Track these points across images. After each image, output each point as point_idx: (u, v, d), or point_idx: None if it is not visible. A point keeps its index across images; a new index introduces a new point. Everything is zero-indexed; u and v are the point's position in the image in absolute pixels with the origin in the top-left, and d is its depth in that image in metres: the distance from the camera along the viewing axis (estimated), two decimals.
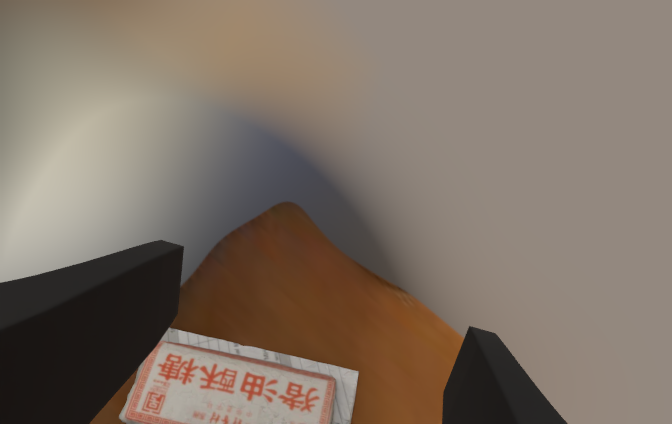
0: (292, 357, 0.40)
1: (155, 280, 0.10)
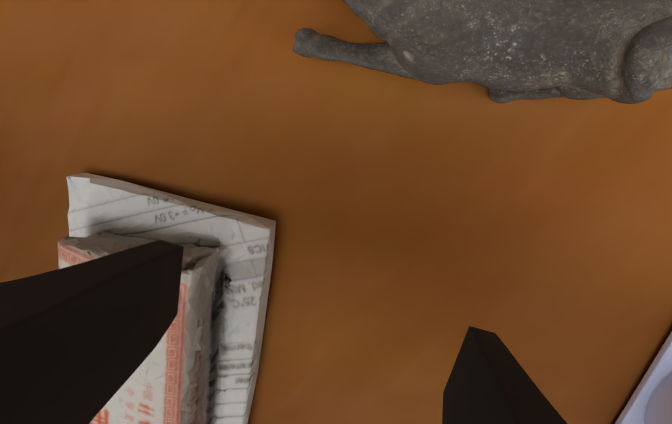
0: None
1: (155, 280, 0.10)
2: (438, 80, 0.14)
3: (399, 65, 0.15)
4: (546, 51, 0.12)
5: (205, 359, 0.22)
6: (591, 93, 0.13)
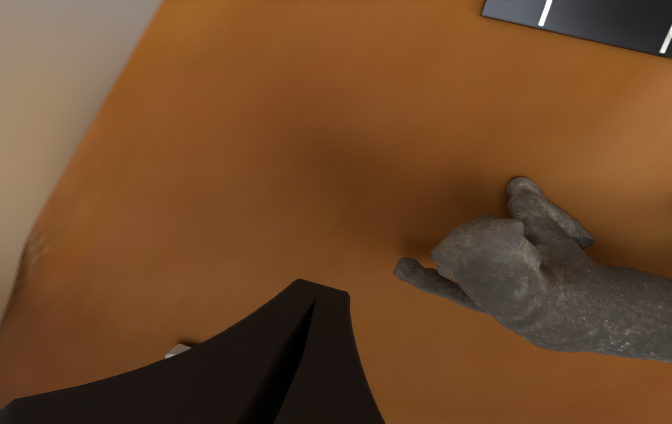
0: None
1: (307, 324, 0.10)
2: None
3: None
4: (657, 351, 0.14)
5: None
6: None
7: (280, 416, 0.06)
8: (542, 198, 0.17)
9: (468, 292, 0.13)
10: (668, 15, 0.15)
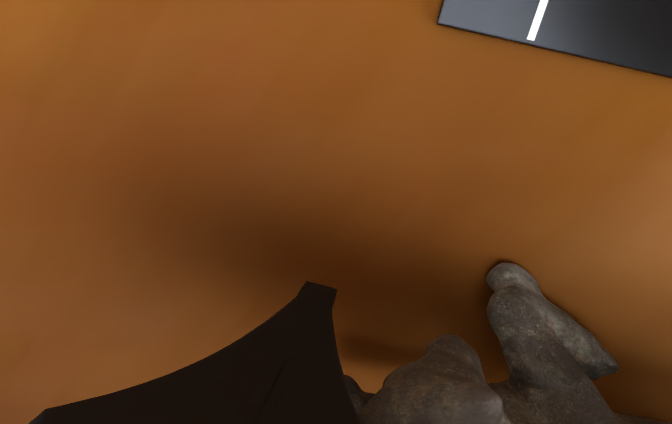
0: None
1: None
2: None
3: None
4: None
5: None
6: None
7: (250, 407, 0.06)
8: (539, 299, 0.11)
9: None
10: None
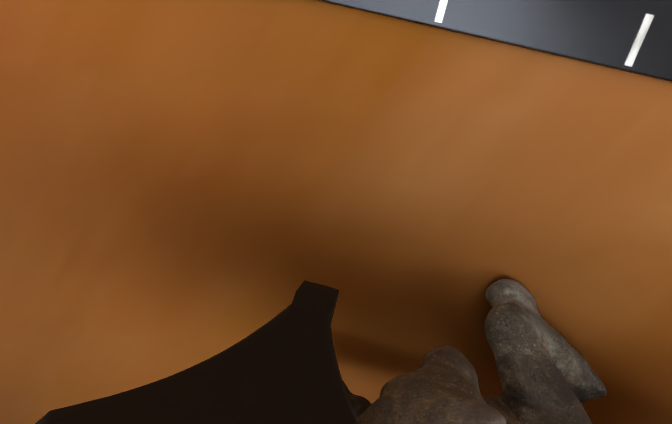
0: None
1: None
2: None
3: None
4: None
5: None
6: None
7: (246, 406, 0.06)
8: (537, 319, 0.11)
9: None
10: None
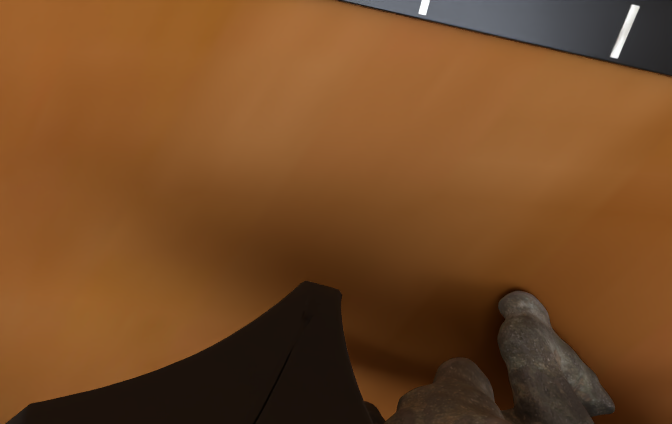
0: None
1: None
2: None
3: None
4: None
5: None
6: None
7: (265, 411, 0.06)
8: (550, 333, 0.11)
9: None
10: None
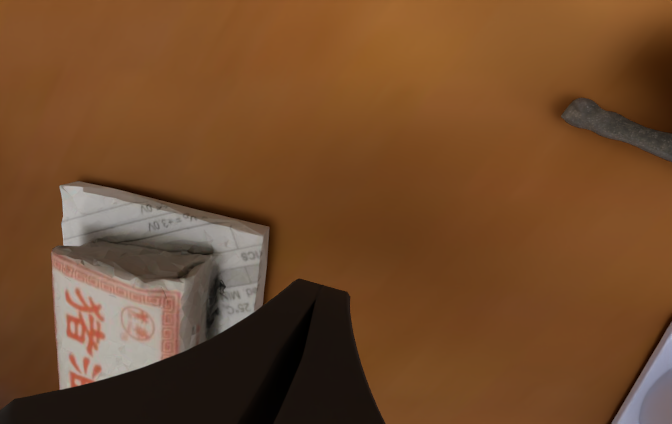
0: None
1: (307, 324, 0.10)
2: None
3: None
4: None
5: None
6: None
7: (280, 416, 0.06)
8: None
9: None
10: None
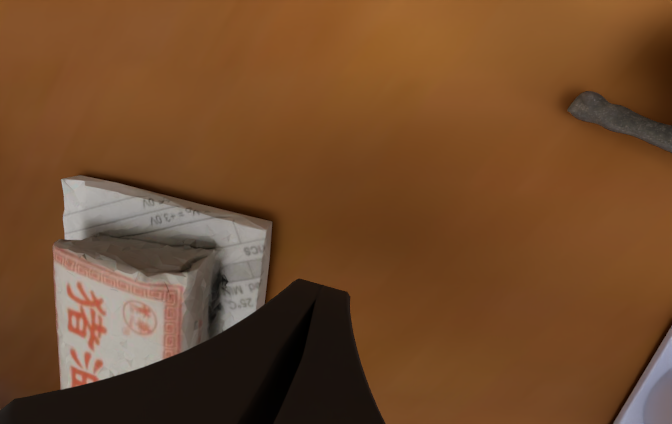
0: None
1: (308, 324, 0.10)
2: None
3: None
4: None
5: None
6: None
7: (280, 416, 0.06)
8: None
9: None
10: None
